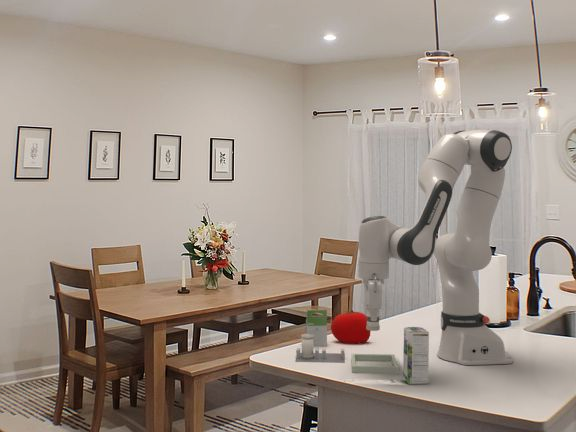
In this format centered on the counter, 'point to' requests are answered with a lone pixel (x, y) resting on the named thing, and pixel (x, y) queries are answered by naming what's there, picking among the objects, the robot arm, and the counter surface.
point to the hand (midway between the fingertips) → (373, 318)
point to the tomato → (350, 328)
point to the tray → (374, 369)
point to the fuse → (372, 324)
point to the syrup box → (416, 355)
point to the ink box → (317, 327)
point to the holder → (316, 352)
